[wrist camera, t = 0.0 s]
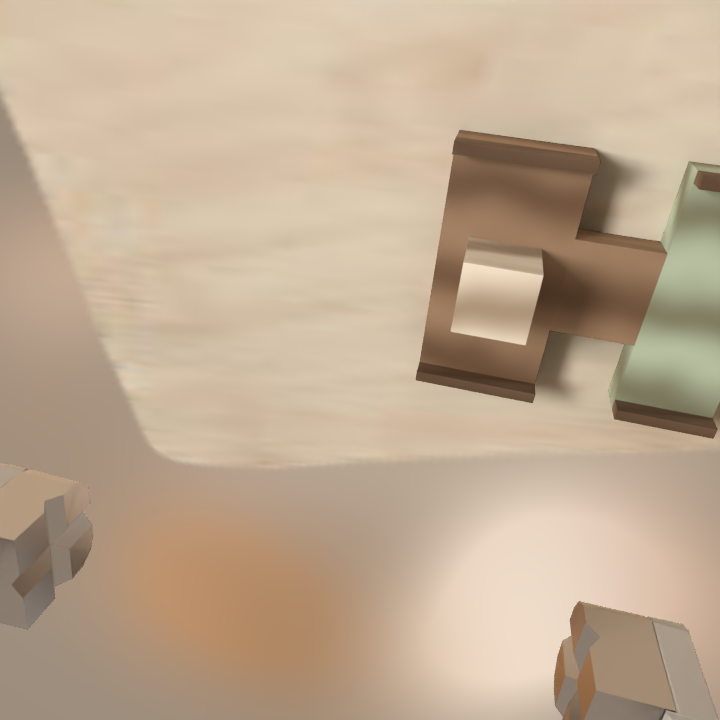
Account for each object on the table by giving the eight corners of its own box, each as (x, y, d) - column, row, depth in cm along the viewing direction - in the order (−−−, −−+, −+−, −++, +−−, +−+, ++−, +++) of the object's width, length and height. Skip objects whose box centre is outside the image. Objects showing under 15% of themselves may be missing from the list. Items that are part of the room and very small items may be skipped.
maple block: (469, 237, 44) (463, 262, 40) (541, 248, 43) (543, 275, 39) (457, 301, 47) (450, 331, 42) (525, 313, 46) (525, 345, 42)
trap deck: (459, 129, 43) (454, 141, 40) (804, 177, 40) (830, 194, 37) (422, 355, 52) (415, 380, 49) (700, 408, 49) (713, 438, 46)
